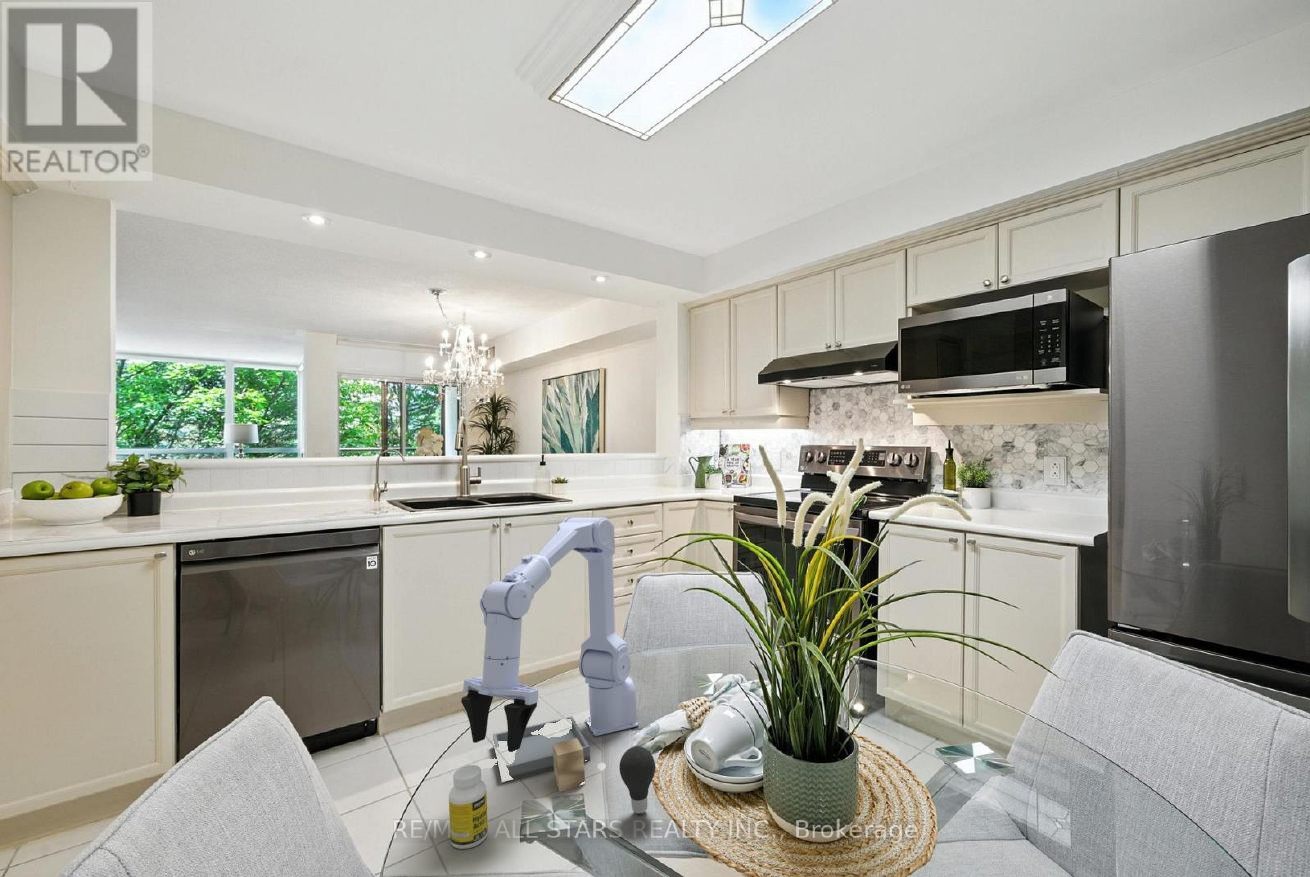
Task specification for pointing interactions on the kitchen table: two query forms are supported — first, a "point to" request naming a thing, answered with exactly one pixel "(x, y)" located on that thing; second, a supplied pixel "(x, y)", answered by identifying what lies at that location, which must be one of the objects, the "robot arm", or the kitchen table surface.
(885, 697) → the kitchen table surface
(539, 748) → the tray
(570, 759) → the oak block
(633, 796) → the light bulb
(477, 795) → the supplement bottle
